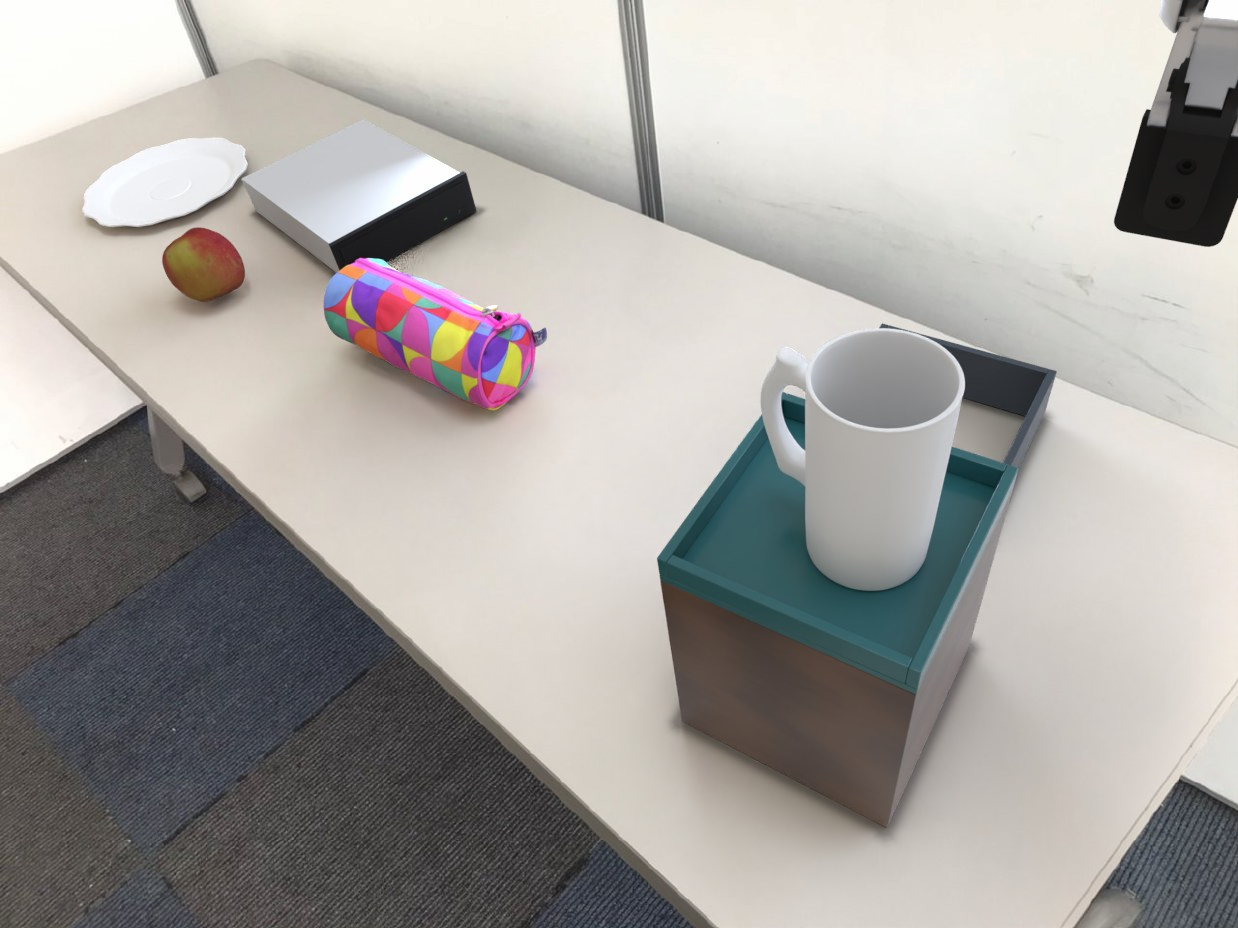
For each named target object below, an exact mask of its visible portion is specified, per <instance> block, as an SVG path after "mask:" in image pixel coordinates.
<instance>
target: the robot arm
mask: <svg viewBox="0 0 1238 928" xmlns="http://www.w3.org/2000/svg"><path fill="white" fill-rule="evenodd" d="M1159 8H1160V9H1159V13H1158V17H1159V19H1160V20H1161V21H1162V23H1163V24H1164V26H1165V27H1166V28H1167V29H1168V30H1169V31H1170V32H1171V33H1172V34H1176V35H1175V38H1174V41H1173V44H1172V46H1171V50H1170V53H1169V55H1168V59H1167V60H1166V61H1167V62H1166V64H1165V67H1164V70H1163V73H1162V76H1161V78H1160V82H1159V83H1158V87H1157V90H1156V93H1155V96H1154V99H1153V101H1152V104H1151V108H1150V109H1149V108H1146V110H1145V111H1144V113H1143V115H1142V118H1141V122H1140V125H1139V129H1138V132H1137V135H1136V139H1135V143H1134V147H1133V151H1132V154H1131V157H1130V160H1129V165H1128V168H1127V171H1126V176H1125V179H1124V182H1123V186H1122V189H1121V194H1120V196H1119V200H1118V204H1117V208H1116V212H1115V215H1114V218H1113V224H1114V227H1115V228H1116V229H1117V230H1118V231H1120V232H1124V233H1128V234H1134V235H1139V236H1145V237H1149V238H1155V239H1160V240H1166V241H1171V242H1176V243H1183V244H1188V245H1193V246H1199V247H1204V248H1211V247H1215V246H1218V245H1219V244H1220V243H1221V242H1222V240H1223V239H1224V236H1225V234H1226V231H1227V228H1228V226H1229V222H1230V220H1231V217H1232V215H1233V212H1234V210H1235V207H1236V204H1237V202H1238V0H1161V1H1160V7H1159Z"/></svg>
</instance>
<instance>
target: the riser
mask: <svg viewBox="0 0 1238 928" xmlns="http://www.w3.org/2000/svg"><path fill="white" fill-rule="evenodd" d="M1012 495H1013V492H1012V493H1011V496H1010V498H1009V500H1008V502H1007V504H1006V506H1005V508H1004V510H1003V512H1002V515H1001V517H1000V519H999V521H998V523H997V525H996V527H995V529H994V531H993V534H992V536H991V538H990V540H989V542H988V544H987V546H986V548H985V550H984V553H983V555H982V557H981V559H980V561H979V563H978V565H977V567H976V570H975V572H974V574H973V576H972V578H971V580H970V582H969V584H968V586H967V589H966V591H965V593H964V595H963V597H962V599H961V601H960V603H959V605H958V608H957V610H956V612H955V614H954V616H953V618H952V620H951V622H950V624H949V627H948V629H947V631H946V633H945V635H944V637H943V639H942V641H941V643H940V646H939V648H938V650H937V652H936V654H935V656H934V658H933V660H932V663H931V665H930V667H929V669H928V671H927V673H926V675H925V677H924V679H923V682H922V684H921V686H920V688H919V690H918V692H917V694H913V693H911V692H909V691H907V690H905V689H902V688H900V687H898V686H896V685H893V684H891V683H889V682H887V681H885V680H882V679H880V678H878V677H876V676H873V675H871V674H869V673H867V672H864V671H862V670H860V669H858V668H856V667H853V666H851V665H849V664H847V663H844V662H842V661H840V660H838V659H835V658H833V657H831V656H829V655H827V654H824V653H822V652H820V651H818V650H815V649H813V648H811V647H809V646H806V645H804V644H802V643H800V642H798V641H795V640H793V639H791V638H789V637H786V636H784V635H782V634H780V633H777V632H775V631H773V630H771V629H769V628H766V627H764V626H762V625H760V624H757V623H755V622H753V621H751V620H748V619H746V618H744V617H742V616H740V615H737V614H735V613H733V612H731V611H728V610H726V609H724V608H722V607H720V606H717V605H715V604H713V603H711V602H708V601H706V600H704V599H702V598H699V597H697V596H695V595H693V594H691V593H688V592H686V591H684V590H682V589H679V588H677V587H675V586H673V585H670V584H668V583H666V582H664V581H662V580H660V579H659V582H660V588H661V594H662V595H661V596H662V601H663V602H662V603H663V607H664V615H665V620H666V627H667V628H666V629H667V633H668V640H669V646H670V653H671V659H672V665H673V670H674V679H675V685H676V686H675V687H676V692H677V698H678V705H679V711H680V717H681V722H683V723H685V724H687V725H688V726H690V727H692V728H694V729H696V730H698V731H700V732H701V733H704V734H705V735H708V736H710V737H712V738H713V739H715V740H717V741H719V742H721V743H723V744H724V745H727V746H729V747H731V748H732V749H735V750H736V751H738V752H741V753H742V754H744V755H746V756H748V757H750V758H752V759H754V760H755V761H758V762H759V763H762V764H763V765H765V766H767V767H769V768H771V769H772V770H775V771H777V772H779V773H781V774H782V775H785V776H787V777H788V778H790V779H792V780H794V781H796V782H797V783H800V784H802V785H804V786H805V787H807V788H809V789H811V790H813V791H815V792H817V793H819V794H821V795H823V796H825V797H827V798H829V799H831V800H832V801H835V802H837V803H838V804H841V805H843V806H844V807H845V808H848V809H850V810H852V811H854V812H856V813H857V814H859V815H861V816H864V817H865V818H867V819H869V820H871V821H873V822H875V823H877V824H879V825H880V826H882V827H885V828H886V829H887V828H888V827H889V825H890V823H891V821H892V819H893V817H894V814H895V813H896V810H897V808H898V806H899V803H900V801H901V799H902V796H903V794H904V792H905V790H906V788H907V786H908V783H909V782H910V778H911V777H912V774H913V772H914V770H915V767H917V766H916V765H917V764H918V761H919V760H920V757H921V755H922V752H923V750H924V748H925V746H926V744H927V741H928V739H929V737H930V734H931V732H932V731H933V728H934V726H935V724H936V721H937V718H938V717H939V715H940V713H941V710H942V708H943V706H944V704H945V701H946V699H947V697H948V695H949V693H950V691H951V688H952V686H953V683H954V681H955V679H956V677H957V675H958V673H959V671H960V668H961V666H962V663H963V661H964V659H965V657H966V654H967V653H968V650H969V648H970V645H971V641H972V638H973V634H974V631H975V627H976V623H977V620H978V617H979V613H980V609H981V605H982V602H983V598H984V596H985V591H986V587H987V583H988V581H989V577H990V573H991V570H992V567H993V566H992V565H993V562H994V560H995V555H996V552H997V548H998V544H999V540H1000V537H1001V534H1002V530H1003V526H1004V523H1005V519H1006V515H1007V512H1008V509H1009V505H1010V501H1011V497H1012Z"/></svg>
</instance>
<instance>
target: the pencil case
mask: <svg viewBox="0 0 1238 928" xmlns="http://www.w3.org/2000/svg"><path fill="white" fill-rule="evenodd" d="M498 308H499V305H498V304H496V305H488V306H485V307H482V306H480V305H479V304H476V303H475V302H473V301H471V300H469V299H467V298H465V297H463V296H462V295H461V296H460V295H459V294H457V293H455V292H453V291H452V290H449V289H447V288H445V287H443V286H441V285H439V284H436V283H434V282H431V281H430V280H426V279H424V278H421V277H417V276H413V275H411V274H408V273H406V272H405V273H404V272H402V271H400V270H398V269H396V268H394V267H392V266H391V265H390V264H389V263H388V262H385V261H383V260H381V259H374V258H366V259H363V258H359V259H357V260H355V263H352V264H350V265H347V266H345V267H344V268H342V269H341V270H340V271H338V272H337V273H336V272H335V274H334V275H332V277H331V278H330V280H329V281H328V283H327V285H326V288H325V290H324V295H323V315H324V319H325V322H326V324H327V326H328V329H329V330H330V331H331V333H332V334H334V335H335V336H336V337H337V338H339V339H341V340H343V341H346V342H349V343H350V344H352V345H355V346H358V347H359V348H361V349H362V350H364V351H365V352H367V353H369V354H371V355H373V356H374V357H377V358H379V359H381V360H383V361H386V362H387V363H389V364H390V365H391V366H393V367H396V368H398V369H400V370H402V371H405V372H407V373H410V374H411V375H413V376H415V377H416V378H419V379H420V380H423V381H426V382H428V383H430V384H432V385H434V386H436V387H438V388H439V389H441V390H443V391H445V392H447V393H449V394H451V395H453V396H454V397H456V398H458V399H461V400H462V401H465V402H467V403H470V404H474V405H477V406H479V407H481V408H483V409H485V410H488V411H497V410H499V409H501V408H502V407H503V406H504V405H506V403H508V402H509V401H510V400H512V399H513V398H514V397H516V396H517V394H518V393H519V392H521V390H523V388H524V387H525V386H526V385H527V383H528V382H529V381H530V378H531V377H532V374H533V371H534V367H535V362H536V348H537V347H540V346H541V345H543V344H544V343H545V342H547V338H548V331H547V327H543V328H542V329H540V330H538V331H534V328H533V327H532V325H531V323H530V322H529V321H528V320H527V319H525V318H524V317H522V314H521V313H520V312H517V313H516V314H514V313H511V312H506V311H500V310H498Z"/></svg>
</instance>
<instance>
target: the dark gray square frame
mask: <svg viewBox="0 0 1238 928" xmlns="http://www.w3.org/2000/svg"><path fill="white" fill-rule="evenodd" d="M878 328H887V329H897V330H903V331H908V332H912V333H916V334H919V335H921V336H924V337H926V338H929V339H931V340H933V341H935V342H936V343H938V344H940V345H941V346H942V347H944V348H945V349H946V350H948V351H949V352H950V353H951V354H952V355H953V356H954V357H955V359H956V360H957V361H958V363H959V365H960V366H961V368H962V371H963V374H964V378H965V390H964V394H963V397H962V399H967V400H969V401H973V402H976V403H979V404H982V405H987V406H990V407H992V408H996V409H999V410H1003V411H1007V412H1010V413H1013V414H1017V415H1020V416H1024V419H1023V422H1022V423H1021V425H1020V427H1019V430H1018V431H1017V434H1016V436H1015V437H1014V439H1013V441H1012V443H1011V445H1010V448H1009V450H1008V452H1007V454H1006V455H1005V458H1004V459H1003V462H1002V463H1005V464H1007V465H1011V466H1014V467H1017V468H1018V471H1019V469H1020V468H1021V466H1022V464H1023V461H1024V459H1025V457H1026V455H1027V453H1028V450H1029V449H1030V446H1031V444H1032V443H1033V441H1034V438H1035V436H1036V434H1037V432H1038V430H1039V429H1040V426H1041V424H1042V422H1043V419H1044V418H1045V415H1046V410H1047V407H1048V403H1049V400H1050V397H1051V394H1052V390H1053V387H1054V383H1055V379H1056V376H1057V373H1058V371H1057V370H1055V369H1050V368H1047V367H1043V366H1041V365H1037V364H1033V363H1030V362H1025V361H1021V360H1018V359H1014V358H1011V357H1008V356H1004V355H1000V354H996V353H993V352H989V351H985V350H981V349H977V348H974V347H971V346H968V345H964V344H959V343H957V342H956V343H955V342H952V341H948V340H945V339H941V338H937V337H934V336H930V335H926V334H922V333H919V332H915V331H912V330H908V329H905V328H901V327H897V326H895V325H894V326H893V325H890V324H886V323H883V322H882V323H881V324H880V325H879V327H878Z"/></svg>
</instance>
